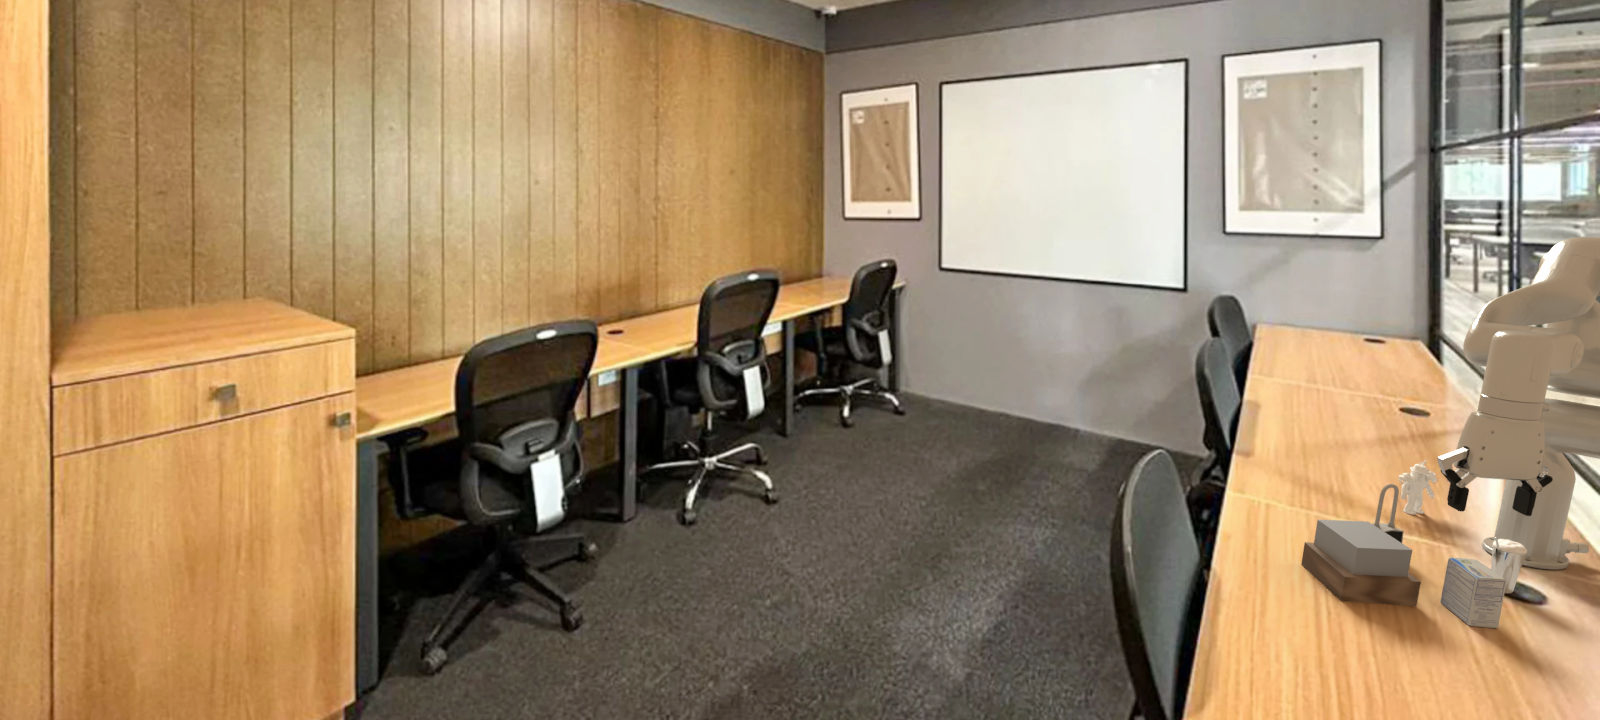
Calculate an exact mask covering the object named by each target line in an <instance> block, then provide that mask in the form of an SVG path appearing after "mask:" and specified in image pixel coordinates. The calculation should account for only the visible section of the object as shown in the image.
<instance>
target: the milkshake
mask: <svg viewBox="0 0 1600 720" xmlns="http://www.w3.org/2000/svg"><path fill="white" fill-rule="evenodd" d="M1495 540H1496V541H1495V542H1494V543H1493V549H1492V554H1491V567H1490V569H1491V570H1492V571H1494V572H1495V573H1497V574H1498V575H1500V576H1501V577H1502V578H1504V579H1505V580H1506V581H1507V582H1506V588H1505V593H1504V594H1513V592H1514V590H1515V587H1516V584H1517V581H1518V578H1519V574H1520V571H1521V569H1522V567H1523V565H1522V564H1523V562H1524V559H1525V556H1526V553H1527V549H1526V548H1525V547H1524V546H1523V545H1522V544H1520V543H1518V542H1514V541H1511V540H1506V539H1497V538H1496V537H1495Z"/></svg>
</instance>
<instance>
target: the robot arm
mask: <svg viewBox="0 0 1600 720" xmlns="http://www.w3.org/2000/svg"><path fill="white" fill-rule="evenodd" d="M1597 297H1600V237H1599V236H1580V237H1579V236H1578V237H1570V238H1566V239H1563V240H1560V241H1559V242H1558V243H1556V244H1554V245H1553V246H1552V247H1551V248H1550V250H1549V251H1548V252H1546V253H1544V254H1543V256H1542V257H1541V258H1540V261H1539V265H1538V271H1537V272H1536V274H1535V276H1534V277H1533V280H1532V281H1531V283H1530V285H1527V286H1524V287H1521V288H1518V289H1515V290H1513V291H1510V292H1508V293H1505V294H1503V295H1500V296H1498V297H1496V298H1494V299H1492V300H1490V301H1489V302H1487V303H1486V304H1484V306H1483V307H1482V308H1481V309H1480V310H1479V312H1478V313H1477V314H1476V316H1475V318H1474V320H1473V322H1472V323H1471V325H1470V327H1469V329H1468V331H1467V333H1466V335H1465V337H1464V340H1463V346H1462V348H1463V355H1464V357H1465V358H1466V360H1467V361H1468V362H1469V363H1471V364H1473V365H1475V366H1479V367H1485V369H1484V371H1485V372H1484V376H1483V381H1482V384H1481V391H1480V397H1479V400H1478V406H1477V411H1475V412H1474V411H1473V412H1470V414H1469V416H1468V418H1467V419H1466V422H1465V424H1464V426H1463V429H1462V431H1461V434H1460V435H1459V436H1460V437H1459V439H1458V442H1457V445H1456V449H1455V450H1453V451H1450V452H1448V453H1445V454H1442V455H1440V456H1438V457H1436V461H1437V463H1438V467H1439V469H1440V472H1441V474H1442V475H1443V476H1444V478H1445V479H1446V481H1447V482H1448V483H1449V488H1448V493H1447V498H1446V499H1447V500H1446V501H1447V505H1448V506H1449V507H1451V508H1452V509H1454V510H1456V511H1458V512H1464V511H1466V507H1467V503H1468V502H1467V501H1468V498H1469V494H1470V490H1469V488H1468V487H1466V486H1467V485H1469V484H1470V483H1471V482H1473V481H1474V480H1475V479H1477V478H1479V479H1492V480H1504V481H1505V483H1504V489H1503V492H1502V498H1501V504H1500V506H1499V507H1500V508H1499V513H1498V517H1497V518H1498V519H1497V521H1496V527H1495V531H1494V536H1491V537H1486V538H1484V539H1482V543H1481V544H1482V545H1481V546H1482V548H1483V550H1484V551H1486V552H1487V553H1489V554H1490V555H1492V549H1493V543H1494V542H1495V541H1496V540H1495V537H1496V538H1497V539H1506V540H1511V541H1514V542H1518V543H1520V544H1522V545H1523V546H1524V547H1525V548H1526V549H1527V553H1526V556H1525V559H1524V562H1523V564H1522V566H1525V567H1529V568H1534V569H1535V568H1536V569H1542V570H1563V569H1566V568H1568V567H1569V564H1570V560H1569V558H1568V557H1567V556H1566V554H1571V553H1575V554H1576V553H1577V554H1588V553H1589V550H1590V548H1589V545H1588V544H1587V543H1584V542H1571V541H1570V538H1569V539H1568V538H1564V534H1565V530H1566V525H1567V521H1568V515H1569V511H1570V507H1571V503H1572V499H1573V493H1574V490H1575V487H1576V486H1575V485H1576V479H1577V478H1576V472H1575V470H1574V468H1573V466H1572V464H1571V463H1570V461H1569V460H1568V459H1567V458H1566V456H1565V455H1564V454H1573V455H1577V456H1582V457H1588V458H1592V459H1599V460H1600V405H1594V404H1593V405H1592V404H1586V403H1583V402H1577V401H1570V400H1561V399H1556V398H1549V397H1548V398H1547V397H1546V395H1547V391H1549V392H1550V391H1551V392H1555V393H1559V394H1566V395H1572V396H1578V397H1579V396H1580V397H1584V398H1592V399H1596V400H1597V399H1599V400H1600V302H1599V301H1598V300H1597ZM1536 325H1537V326H1536ZM1538 325H1546V327H1540V326H1538ZM1453 466H1454V467H1455V468H1456V469H1455V470H1454V469H1453Z"/></svg>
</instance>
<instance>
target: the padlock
mask: <svg viewBox="0 0 1600 720" xmlns="http://www.w3.org/2000/svg"><path fill="white" fill-rule="evenodd" d="M1391 488H1393V489H1394V491H1393V492H1394V493H1393V498H1392V505H1391V512H1390V518H1389V522H1388V523H1384V522H1383V523H1381V522H1380V521H1381V517H1382V510H1383V504H1384V499H1385V494H1386V492H1387V490H1389V489H1391ZM1379 494H1380V495H1379V499H1378V503H1377V508H1376V515H1375V521H1374V523H1372V524H1373V525H1374V526H1376V527H1377V528H1379V529H1380V530H1382V531H1384V532H1385V533H1387V534H1388V535H1390V536H1391V537H1393V538H1395V539H1396V540H1398V541H1399V542H1401V543H1402V544H1403V542H1404V541H1403V540H1404V530H1403V529H1400V528H1398V527H1395V526H1396V524H1395V521H1396V512H1397V508H1398V501H1399V494H1400V490H1399V487H1398V486H1397V485H1396V484H1394V483H1390V484H1389V483H1388V484H1385V486H1383V487H1382V489H1381V490H1380V493H1379Z"/></svg>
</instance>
